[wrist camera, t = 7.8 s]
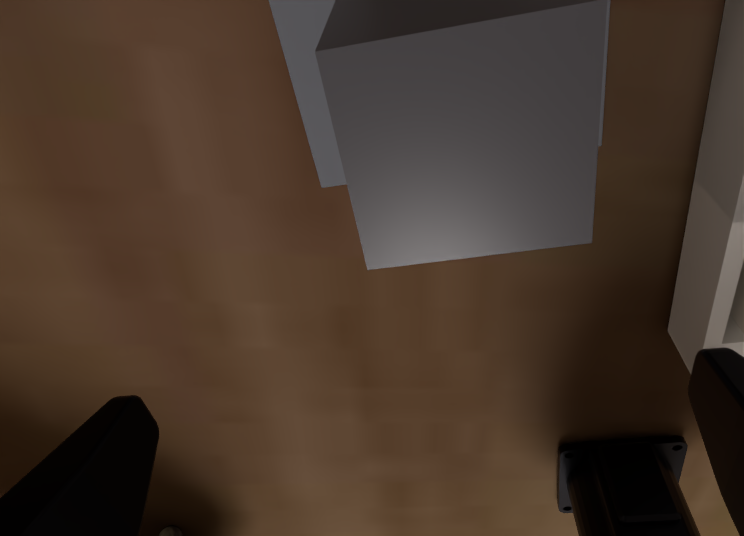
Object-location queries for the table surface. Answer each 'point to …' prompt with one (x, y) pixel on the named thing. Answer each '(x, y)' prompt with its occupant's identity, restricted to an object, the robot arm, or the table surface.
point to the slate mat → (299, 41)
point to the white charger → (739, 302)
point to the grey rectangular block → (465, 123)
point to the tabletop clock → (170, 531)
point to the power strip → (715, 209)
